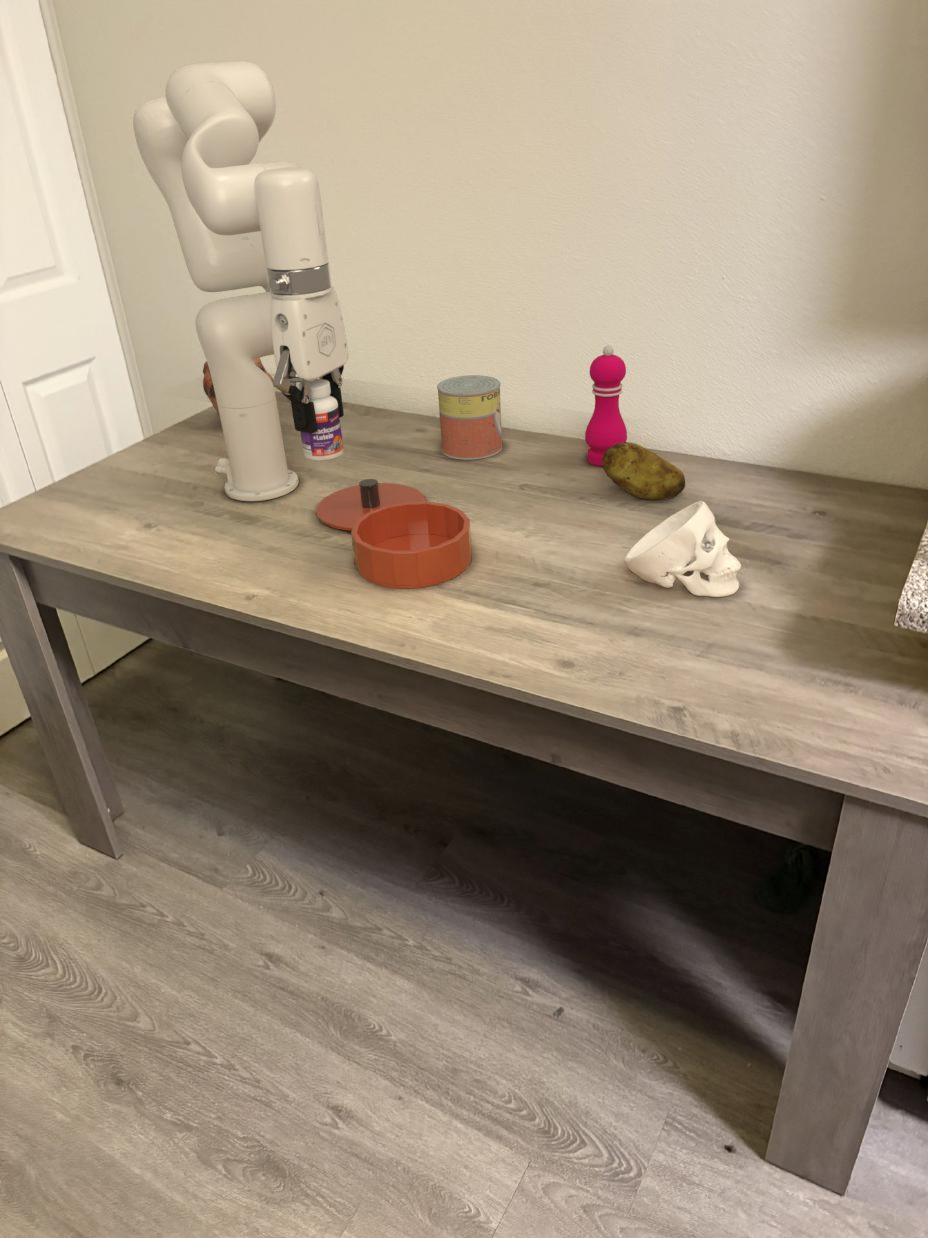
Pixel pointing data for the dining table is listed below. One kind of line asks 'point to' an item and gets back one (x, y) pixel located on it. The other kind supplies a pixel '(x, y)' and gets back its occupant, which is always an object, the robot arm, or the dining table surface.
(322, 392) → the pill bottle
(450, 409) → the canned food
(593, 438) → the pepper mill
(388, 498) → the lid
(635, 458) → the potato
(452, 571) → the pot
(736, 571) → the skull bowl
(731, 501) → the dining table surface
